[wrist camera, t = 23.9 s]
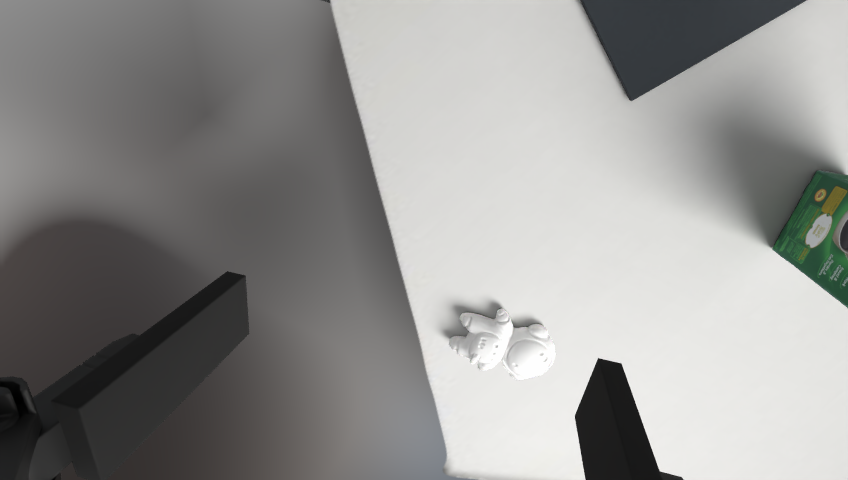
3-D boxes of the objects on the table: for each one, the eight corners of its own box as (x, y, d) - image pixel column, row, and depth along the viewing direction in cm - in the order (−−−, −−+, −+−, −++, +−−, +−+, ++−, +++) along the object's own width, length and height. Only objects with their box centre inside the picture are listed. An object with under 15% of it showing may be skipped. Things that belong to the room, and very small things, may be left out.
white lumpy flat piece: (471, 292, 47) (468, 307, 44) (568, 335, 46) (571, 352, 44) (442, 347, 51) (438, 363, 48) (532, 387, 50) (533, 405, 47)
